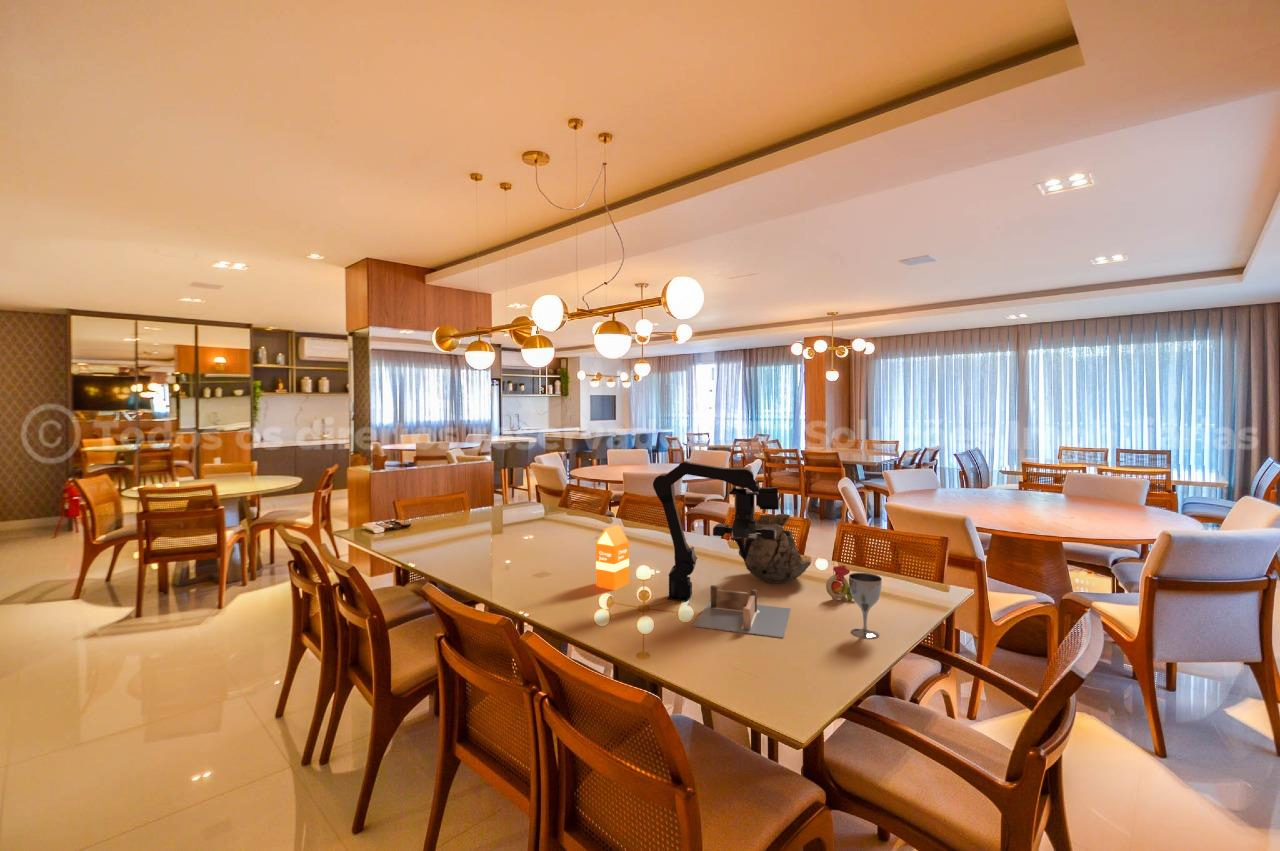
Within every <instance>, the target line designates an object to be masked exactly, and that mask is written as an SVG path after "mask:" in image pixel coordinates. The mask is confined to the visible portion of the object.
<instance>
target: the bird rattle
mask: <svg viewBox="0 0 1280 851" xmlns="http://www.w3.org/2000/svg"><path fill="white" fill-rule="evenodd" d="M833 571H834V574H832V575H831V576H830V577H829V578H828V579H827V581H826V584H825V588H826V592H827V594H829V596H830V597H831V599H832V600H833V601H836V600H838V599H842V598H844V597H845V596H846V598H847V599H848V601H852V600H854V599H853V598H852V596H851V592H850V587H849V581H848V579H847V578H846V577H845V576H847V575H848V574H849V575H850V574H851V573H850V572H851V570H850V569H847V566H846V565H840V566H838V565H835V566H834V567H833Z"/></svg>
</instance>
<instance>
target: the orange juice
mask: <svg viewBox="0 0 1280 851" xmlns="http://www.w3.org/2000/svg"><path fill="white" fill-rule="evenodd" d="M629 545H630V542H629V540H628V538H627V536H626V534H625V532H624V530H623V529H622V526H621V525H620V523H619V524H616V525H615V524H614V525H611V526H609V527H605V528H604V530H603V532H601V534H600V536H599V538H598V539H597V541H596V543H595V571H596V572H595V577H596V578H595V579H596V580H595V581H596V584H595V586H596V587H597V586H599V587H598V588H602V587H603V588H602V589H608V590H613V591H616V590H618V589H621V588H622V587H624V586H626V585H628V584H630V550H629V549H630V546H629Z"/></svg>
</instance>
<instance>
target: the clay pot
mask: <svg viewBox="0 0 1280 851" xmlns="http://www.w3.org/2000/svg"><path fill="white" fill-rule="evenodd" d="M790 517H791V515H790V514H788V513H787V514H786V513H778V514H775V513H771V514H760V515H759V518H758V519H756V518H754V521H755V522H756V529H762V528H763V526H765V527H775V528H776V538H775V539H774V540H769V539H763V538H762V537H761V535H757V536H758V538H757V539H756V541H753V542H752V544H751V546H750V549H749V552H748V555H747V558H746V560H745V559H743V557H742V555H741V552H740V549H739V548H738V549H739V550H738V554H739V557H741V558H742V559H743V562H744V564H745V568H746V569H747V571H748V572H749V573H750V574H751V575H753V576H754V577H755V578H756V579H759V580H761V581H764V582H767V583H772V584H773V583H774V584H777V583H778V584H779V583H780V584H781V583H787V582H790V581H793V580H795V579H797V578H799V577H801V576H802V575H803V574H804V573H805V572H806V570H807V569H808V568H809V567H810V566H811V563H812V562H811V561H810V559H809V558H808V559H805V560H803V557H802V556H801V554H800V553H799V552H798V550H797V546H796V542H795V540H794V538H793V533H792V531H791V530H786V529H784V525H785V524H786V523H787V522H788V521H789V519H791V518H790ZM745 544H746V541H744V545H745Z"/></svg>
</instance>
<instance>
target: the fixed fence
mask: <svg viewBox="0 0 1280 851" xmlns="http://www.w3.org/2000/svg"><path fill="white" fill-rule="evenodd" d="M751 595H753V596H755V612H757V605H758V590H757V589H754V588H753V589H749V592H746V591H739V590H738V591H736V590H728V589H727V590H726V589H718V586H717V585H711V586H710V600H711V608H723V609H732V610H740V611H743V608H744V607H746V606H747V603H748V601H749V597H750V596H751Z"/></svg>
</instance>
